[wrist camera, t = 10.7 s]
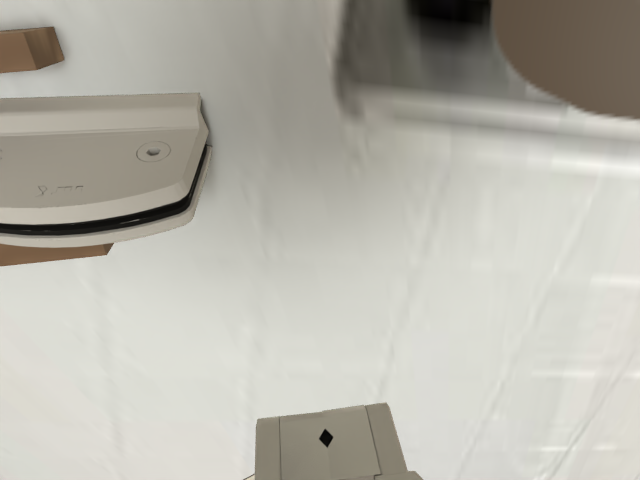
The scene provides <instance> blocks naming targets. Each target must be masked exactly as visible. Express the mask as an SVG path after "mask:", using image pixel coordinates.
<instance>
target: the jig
mask: <svg viewBox="0 0 640 480" xmlns="http://www.w3.org/2000/svg"><path fill="white" fill-rule="evenodd" d="M63 60H64V57H63V54H62V51H61V48H60V45H59V42H58V39H57V36H56V34H55V31H54V28H53V27H44V28H31V29H18V30H6V31H0V73H6V72H18V71H30V70H38V69H41V68H44V67H47V66H49V65H52V64H55V63H58V62H60V61H63ZM113 244H114V243H108V244H101V245H92V246H81V247H59V248H49V247H26V246H15V245H7V244H1V243H0V266H8V265H18V264H27V263H37V262H46V261H55V260H65V259H74V258H84V257H93V256H102V255H107V254H108V252H109V250H110V249H111V247H112V245H113Z"/></svg>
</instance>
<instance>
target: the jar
mask: <svg viewBox="0 0 640 480" xmlns="http://www.w3.org/2000/svg"><path fill="white" fill-rule="evenodd" d="M245 480H255V475H253V476H251V477H249V478H247V479H245Z"/></svg>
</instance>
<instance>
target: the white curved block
mask: <svg viewBox="0 0 640 480" xmlns="http://www.w3.org/2000/svg"><path fill="white" fill-rule="evenodd" d="M200 106H201V97H200V94H199V93H177V94H142V95H107V96H72V97H37V98H2V99H0V243H1V244H7V245H15V246H26V247H49V248H59V247H81V246H92V245H101V244H108V243H115V242H121V241H127V240H132V239H136V238H141V237H146V236H150V235H153V234H157V233H161V232H164V231H168V230H171V229H174V228H177V227H180V226H183V225H185V224H187V223H189V222H190V221H191V220H192V219H193V217H194V214H195V210H196V207H197V204H198V200H199V197H200V194H201V190H202V187H203V184H204V180H205V177H206V174H207V170H208V167H209V164H210V160H211V151H212V146H207V144H205V142H206V139H207V136H208V133H209V131H208V129H207V126H206V124H205V122H204V119H203V117H202V115H201V112H200Z"/></svg>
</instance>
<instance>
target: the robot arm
mask: <svg viewBox="0 0 640 480" xmlns="http://www.w3.org/2000/svg"><path fill="white" fill-rule="evenodd" d="M255 480H423V479H422V478H421V477H420V476H419V475H418V474H417V473H416V472H415V471H408V470H407V467H406V463H405V460H404V456H403V453H402V449H401V446H400V443H399V439H398V436H397V432H396V429H395V425H394V422H393V418H392V415H391V411H390V408H389V406H388V404H387V403H386V402H385V403H378V404H371V405H365V406H364V405H359V406H352V407H345V408H339V409H332V410H325V411H322V412H315V413H306V414H296V415H287V416H277V417H269V418H261V419H257V424H256V446H255Z"/></svg>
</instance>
